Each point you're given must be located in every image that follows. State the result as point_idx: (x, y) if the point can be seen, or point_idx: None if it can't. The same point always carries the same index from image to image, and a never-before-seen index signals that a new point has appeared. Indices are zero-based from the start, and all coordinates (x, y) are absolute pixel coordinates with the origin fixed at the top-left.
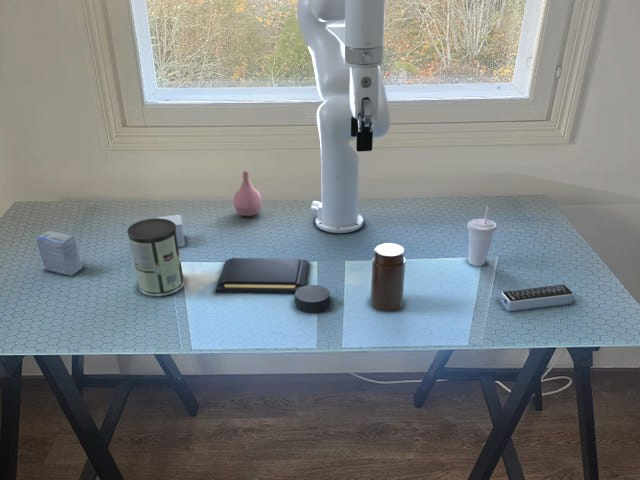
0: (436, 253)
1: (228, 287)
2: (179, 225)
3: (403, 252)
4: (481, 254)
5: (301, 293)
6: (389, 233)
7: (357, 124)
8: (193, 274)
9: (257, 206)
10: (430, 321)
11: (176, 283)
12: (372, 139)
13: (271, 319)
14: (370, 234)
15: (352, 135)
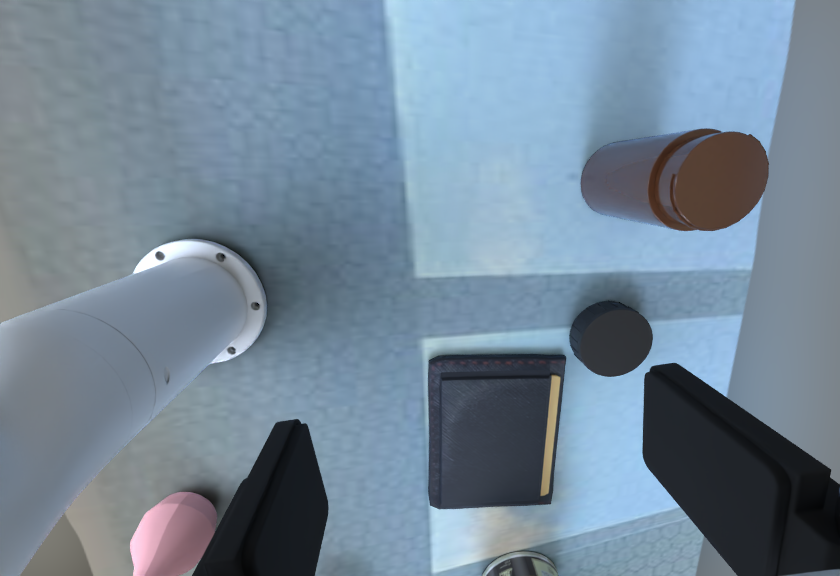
0: (357, 23)
1: (548, 487)
2: None
3: (749, 136)
4: None
5: (614, 364)
6: (242, 163)
7: (294, 561)
8: (479, 545)
9: (195, 508)
10: (703, 76)
11: (546, 569)
12: (743, 410)
13: None
14: (257, 217)
15: (326, 509)
